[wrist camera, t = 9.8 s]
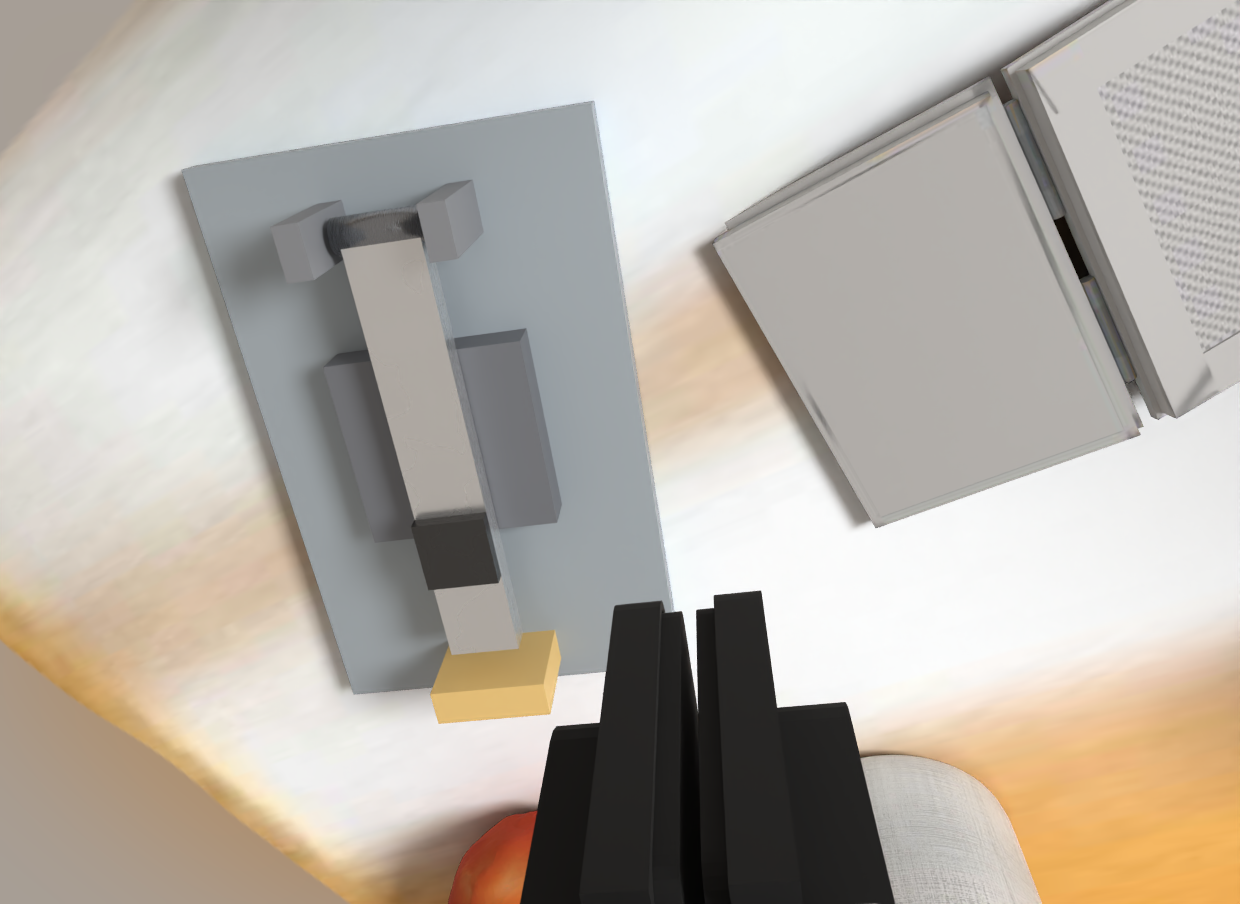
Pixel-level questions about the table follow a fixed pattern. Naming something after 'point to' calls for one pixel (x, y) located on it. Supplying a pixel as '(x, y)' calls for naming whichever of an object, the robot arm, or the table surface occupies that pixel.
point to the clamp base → (479, 295)
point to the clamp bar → (430, 425)
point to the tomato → (496, 864)
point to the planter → (944, 835)
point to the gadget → (1015, 261)
